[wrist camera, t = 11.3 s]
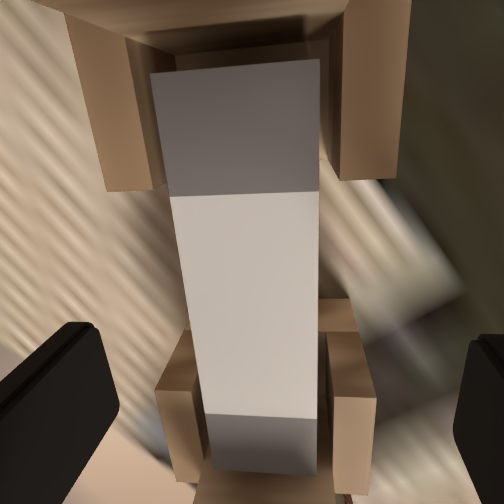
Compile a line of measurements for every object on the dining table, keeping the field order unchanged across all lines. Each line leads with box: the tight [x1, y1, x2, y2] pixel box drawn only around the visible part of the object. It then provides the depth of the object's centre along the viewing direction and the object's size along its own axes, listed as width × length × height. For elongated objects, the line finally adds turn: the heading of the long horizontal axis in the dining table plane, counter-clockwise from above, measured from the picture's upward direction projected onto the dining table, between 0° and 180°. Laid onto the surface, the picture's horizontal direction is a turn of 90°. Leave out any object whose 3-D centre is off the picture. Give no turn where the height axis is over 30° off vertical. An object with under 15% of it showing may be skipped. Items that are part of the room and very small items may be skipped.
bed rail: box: [150, 59, 320, 477], centre depth 13 cm, size 4×14×5 cm, turn 4°
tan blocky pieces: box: [31, 0, 411, 504], centre depth 13 cm, size 8×19×11 cm, turn 4°
